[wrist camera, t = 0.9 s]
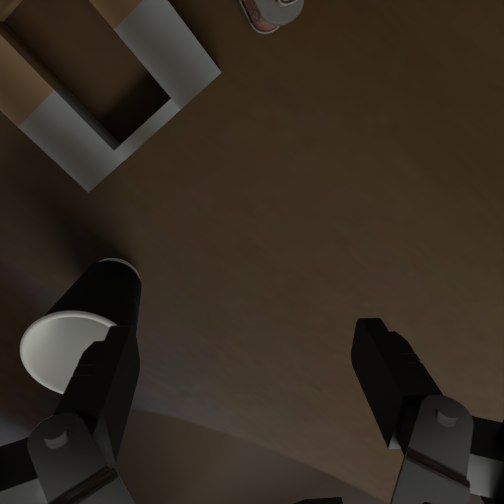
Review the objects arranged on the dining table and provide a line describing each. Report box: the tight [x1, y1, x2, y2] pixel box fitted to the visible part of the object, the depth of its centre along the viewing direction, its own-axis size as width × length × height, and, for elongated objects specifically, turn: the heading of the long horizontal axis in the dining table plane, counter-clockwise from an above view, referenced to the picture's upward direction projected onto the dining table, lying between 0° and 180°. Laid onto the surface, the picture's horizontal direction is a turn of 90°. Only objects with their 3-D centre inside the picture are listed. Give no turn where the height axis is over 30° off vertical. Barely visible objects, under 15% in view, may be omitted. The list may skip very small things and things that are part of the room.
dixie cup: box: [20, 258, 141, 394], centre depth 32 cm, size 8×8×11 cm
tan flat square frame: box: [0, 0, 222, 193], centre depth 27 cm, size 14×13×2 cm
